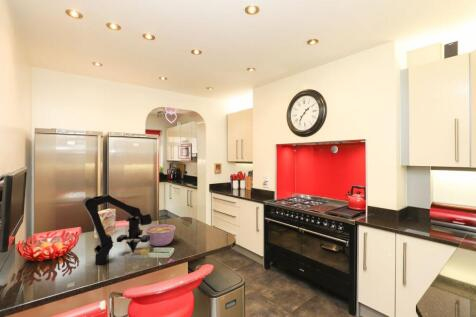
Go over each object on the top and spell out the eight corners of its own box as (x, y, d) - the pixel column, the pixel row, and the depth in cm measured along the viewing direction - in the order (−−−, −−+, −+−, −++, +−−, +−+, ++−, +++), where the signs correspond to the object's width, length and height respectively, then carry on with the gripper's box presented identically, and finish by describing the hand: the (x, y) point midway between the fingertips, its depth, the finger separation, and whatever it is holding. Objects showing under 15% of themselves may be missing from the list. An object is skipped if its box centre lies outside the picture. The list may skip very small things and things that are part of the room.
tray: (169, 259, 138) (169, 253, 138) (148, 258, 138) (148, 253, 138) (174, 253, 147) (174, 247, 147) (153, 252, 147) (153, 247, 147)
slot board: (147, 259, 137) (147, 255, 137) (124, 259, 137) (124, 255, 137) (154, 252, 148) (154, 248, 148) (132, 251, 148) (133, 248, 148)
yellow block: (147, 255, 140) (147, 250, 140) (140, 255, 140) (140, 250, 140) (149, 252, 144) (149, 248, 144) (143, 252, 144) (143, 248, 144)
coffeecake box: (102, 239, 171) (102, 212, 172) (93, 238, 173) (94, 212, 173) (115, 232, 186) (116, 208, 186) (107, 232, 187) (108, 208, 187)
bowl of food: (180, 241, 168) (180, 225, 168) (165, 252, 149) (165, 234, 149) (157, 238, 173) (157, 223, 173) (138, 248, 154) (139, 231, 154)
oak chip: (140, 255, 140) (140, 250, 140) (133, 255, 140) (134, 250, 140) (143, 252, 144) (143, 248, 144) (136, 252, 144) (136, 247, 144)
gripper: (153, 223, 151) (153, 247, 151) (125, 223, 151) (124, 247, 151) (146, 228, 140) (146, 254, 140) (116, 228, 140) (115, 254, 140)
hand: (133, 252), depth 143 cm, fingers closed
